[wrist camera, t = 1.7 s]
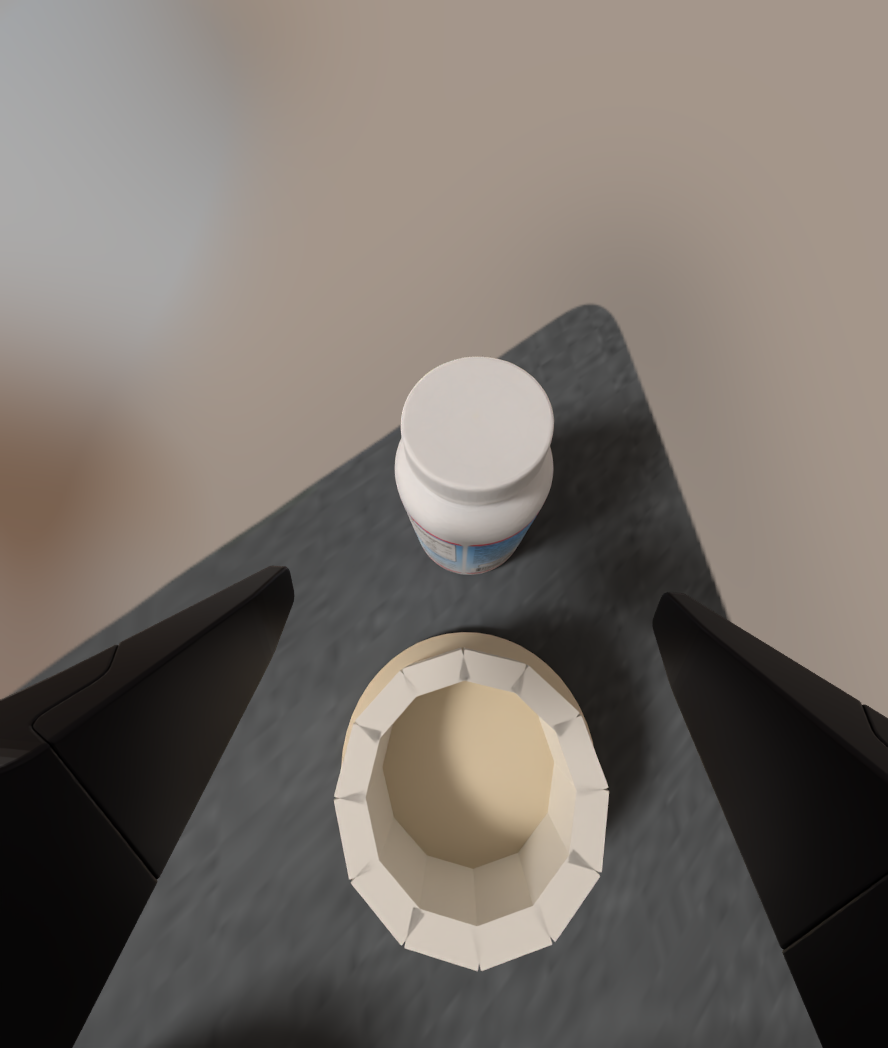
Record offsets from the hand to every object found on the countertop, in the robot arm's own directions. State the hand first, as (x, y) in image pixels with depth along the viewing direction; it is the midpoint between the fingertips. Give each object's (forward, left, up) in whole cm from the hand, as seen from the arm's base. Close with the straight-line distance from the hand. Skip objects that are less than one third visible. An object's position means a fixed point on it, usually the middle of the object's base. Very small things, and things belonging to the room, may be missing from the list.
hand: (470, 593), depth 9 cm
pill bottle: (+4, +3, -12) cm, 13 cm away
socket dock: (-5, -5, -12) cm, 14 cm away
